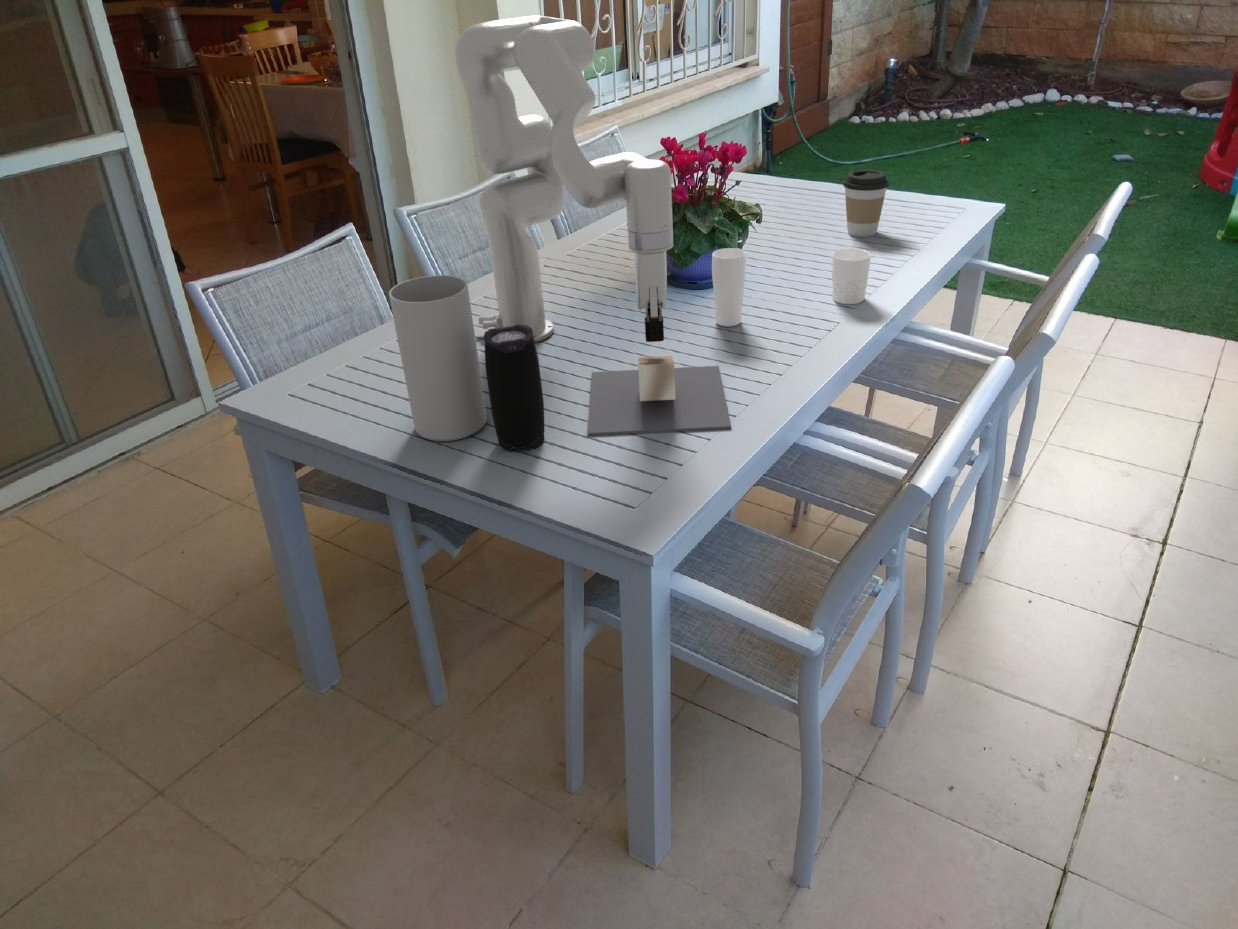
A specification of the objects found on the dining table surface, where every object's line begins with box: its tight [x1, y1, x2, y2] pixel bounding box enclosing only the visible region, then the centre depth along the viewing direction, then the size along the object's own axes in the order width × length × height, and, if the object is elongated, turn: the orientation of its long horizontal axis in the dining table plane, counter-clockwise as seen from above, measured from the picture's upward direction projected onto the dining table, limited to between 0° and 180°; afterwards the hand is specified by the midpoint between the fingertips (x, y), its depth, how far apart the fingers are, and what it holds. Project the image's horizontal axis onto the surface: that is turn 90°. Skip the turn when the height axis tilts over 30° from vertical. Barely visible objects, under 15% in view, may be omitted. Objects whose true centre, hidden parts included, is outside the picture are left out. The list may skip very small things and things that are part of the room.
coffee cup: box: [842, 169, 890, 238], centre depth 238 cm, size 11×11×15 cm
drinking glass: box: [711, 247, 747, 328], centre depth 191 cm, size 7×7×15 cm
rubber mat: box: [587, 365, 732, 437], centre depth 166 cm, size 24×24×1 cm
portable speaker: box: [483, 324, 545, 452], centre depth 150 cm, size 9×9×20 cm
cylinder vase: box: [388, 274, 488, 442], centre depth 156 cm, size 12×12×25 cm
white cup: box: [831, 248, 872, 305], centre depth 200 cm, size 8×8×10 cm
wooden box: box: [637, 355, 676, 401], centre depth 162 cm, size 6×6×12 cm
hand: (654, 339), depth 165 cm, fingers closed
